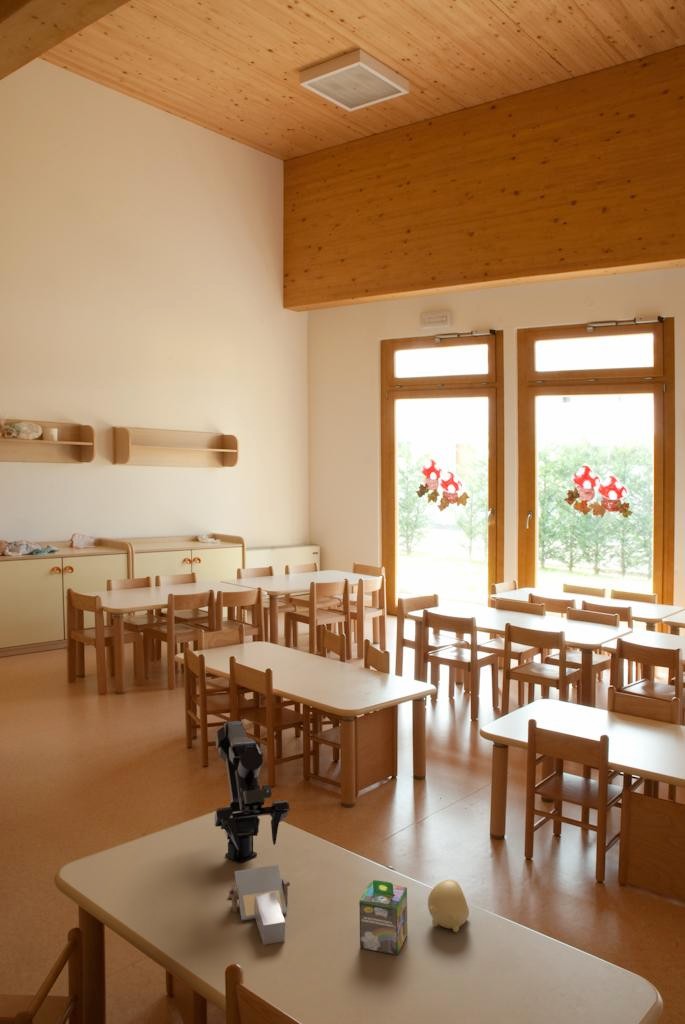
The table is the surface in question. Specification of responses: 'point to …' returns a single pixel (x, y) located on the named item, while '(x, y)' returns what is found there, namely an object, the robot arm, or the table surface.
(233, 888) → the trapdoor frame
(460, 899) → the toy pig
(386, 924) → the chalk box
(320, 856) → the table surface
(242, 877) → the trapdoor
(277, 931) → the tall grey rectangular block
